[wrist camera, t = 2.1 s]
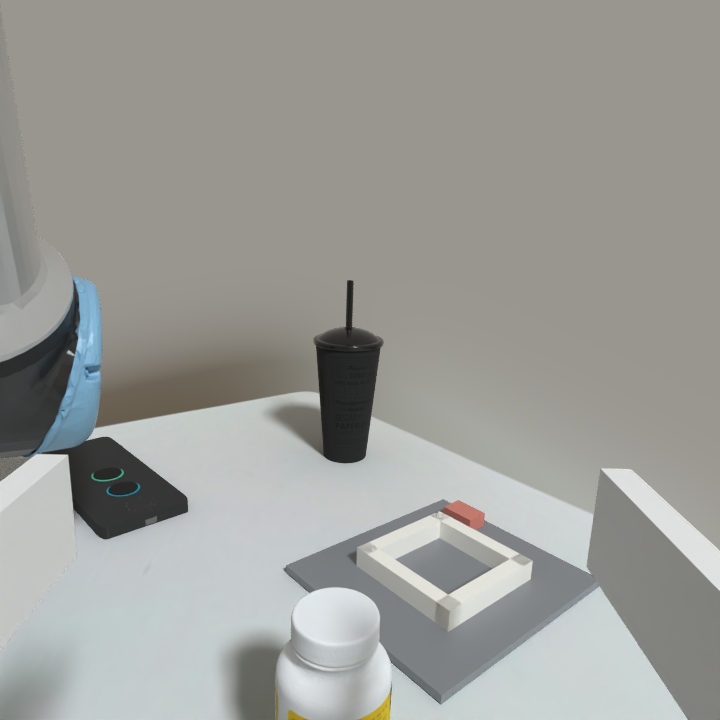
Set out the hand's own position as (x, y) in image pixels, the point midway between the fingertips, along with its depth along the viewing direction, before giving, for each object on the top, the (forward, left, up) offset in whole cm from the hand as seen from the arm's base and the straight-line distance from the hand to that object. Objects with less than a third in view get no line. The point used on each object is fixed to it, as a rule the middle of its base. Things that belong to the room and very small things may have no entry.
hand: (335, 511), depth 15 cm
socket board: (-15, +23, -20) cm, 34 cm away
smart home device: (-46, +8, -21) cm, 52 cm away
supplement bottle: (-7, +6, -20) cm, 22 cm away
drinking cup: (-38, +32, -20) cm, 54 cm away
